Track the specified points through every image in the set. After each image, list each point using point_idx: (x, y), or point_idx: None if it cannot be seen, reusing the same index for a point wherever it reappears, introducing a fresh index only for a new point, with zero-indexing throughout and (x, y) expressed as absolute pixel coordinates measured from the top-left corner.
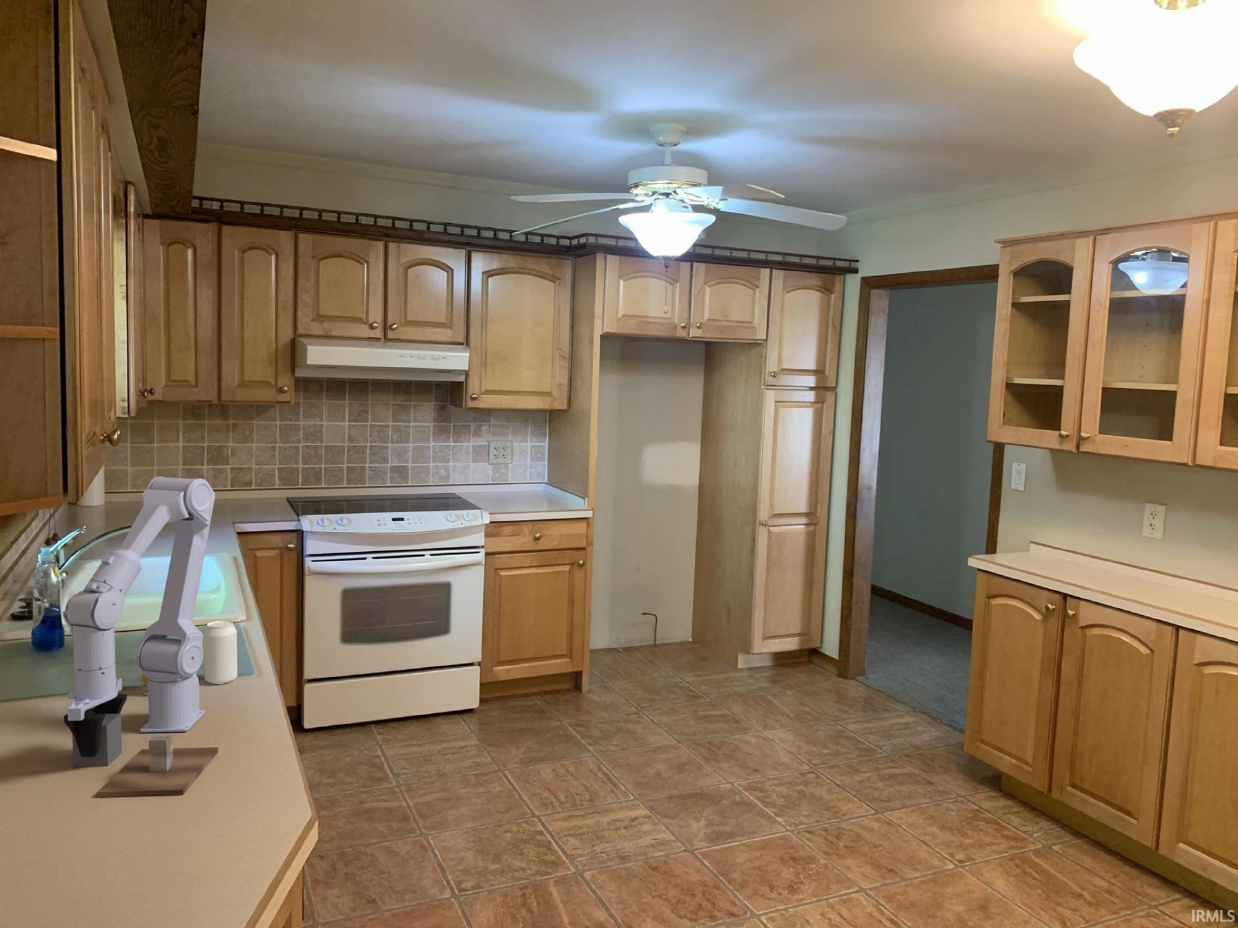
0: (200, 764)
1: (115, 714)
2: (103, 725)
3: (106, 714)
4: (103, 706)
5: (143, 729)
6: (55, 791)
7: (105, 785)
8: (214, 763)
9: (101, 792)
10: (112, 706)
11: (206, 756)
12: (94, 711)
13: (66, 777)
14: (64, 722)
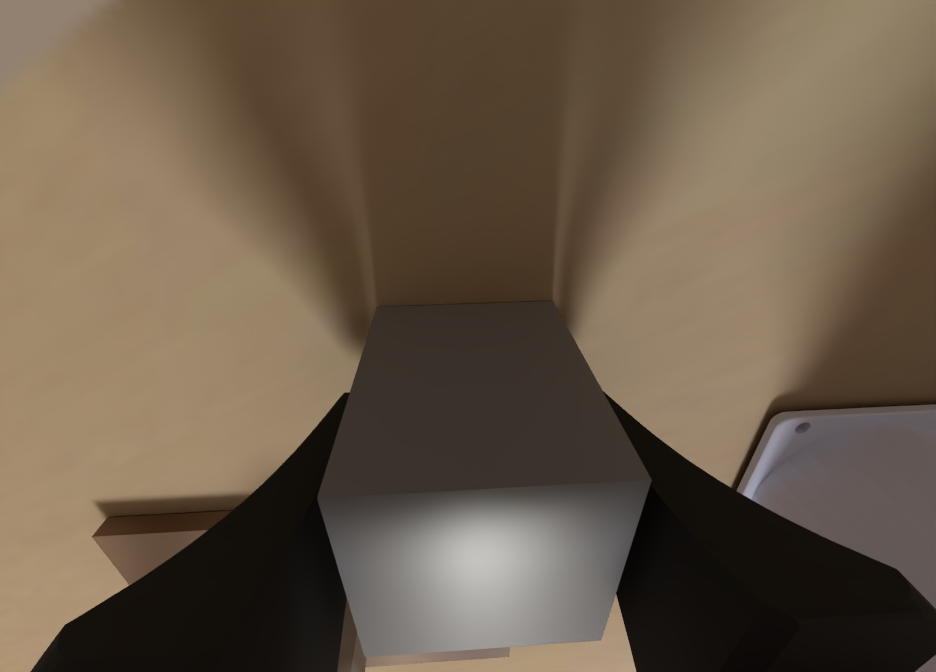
0: (377, 661)
1: (593, 623)
2: (364, 644)
3: (606, 587)
4: (672, 634)
5: (782, 430)
6: (85, 363)
7: (156, 534)
8: None
9: (99, 543)
10: (655, 669)
11: (437, 655)
12: (674, 531)
13: (245, 336)
14: (66, 628)
